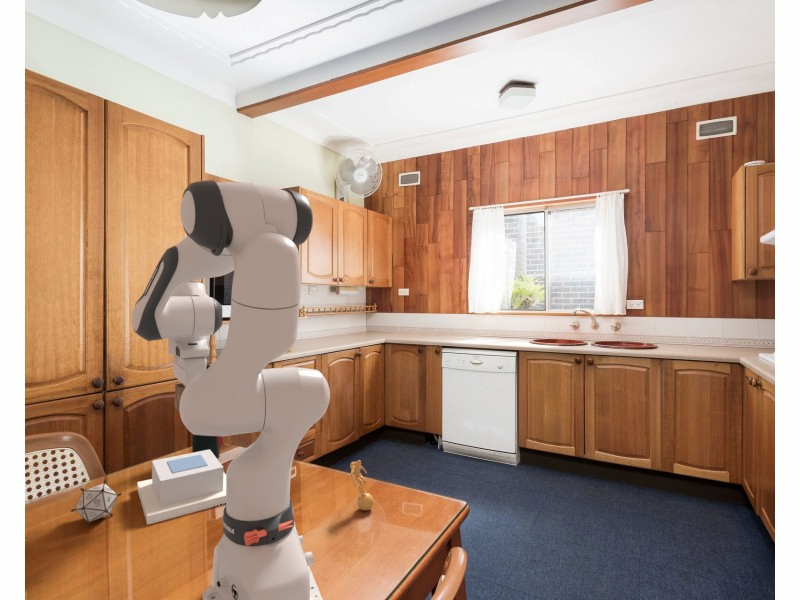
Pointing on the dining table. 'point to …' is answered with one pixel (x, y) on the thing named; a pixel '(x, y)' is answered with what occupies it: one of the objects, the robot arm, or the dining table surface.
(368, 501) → the figurine
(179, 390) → the walnut block
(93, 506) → the game die
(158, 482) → the pedestal
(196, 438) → the wine bottle
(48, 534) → the dining table surface
